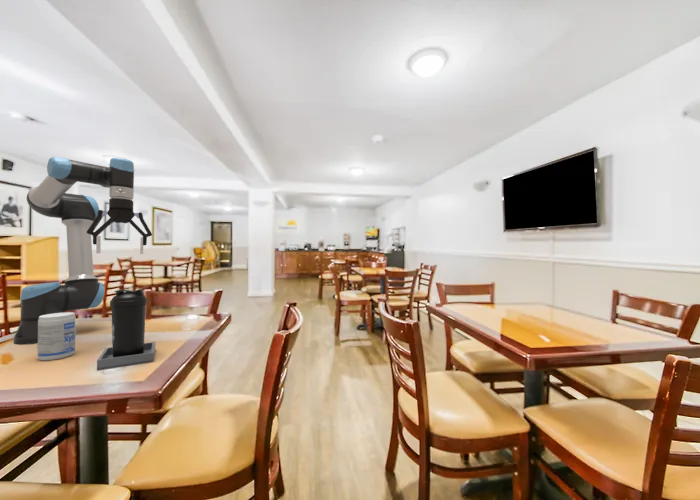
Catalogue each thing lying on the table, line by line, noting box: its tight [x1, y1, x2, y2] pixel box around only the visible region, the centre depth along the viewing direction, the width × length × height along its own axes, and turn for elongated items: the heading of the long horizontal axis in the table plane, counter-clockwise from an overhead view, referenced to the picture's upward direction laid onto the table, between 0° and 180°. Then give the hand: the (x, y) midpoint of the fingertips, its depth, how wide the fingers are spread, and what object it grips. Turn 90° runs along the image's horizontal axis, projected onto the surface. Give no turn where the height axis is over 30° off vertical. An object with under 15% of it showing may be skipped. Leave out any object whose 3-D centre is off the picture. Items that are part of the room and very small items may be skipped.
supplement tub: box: [37, 311, 76, 361], centre depth 107 cm, size 10×10×15 cm
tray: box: [96, 341, 156, 371], centre depth 104 cm, size 15×15×3 cm
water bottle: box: [109, 288, 148, 358], centre depth 104 cm, size 10×10×23 cm
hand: (120, 253), depth 119 cm, fingers open, 13 cm apart
